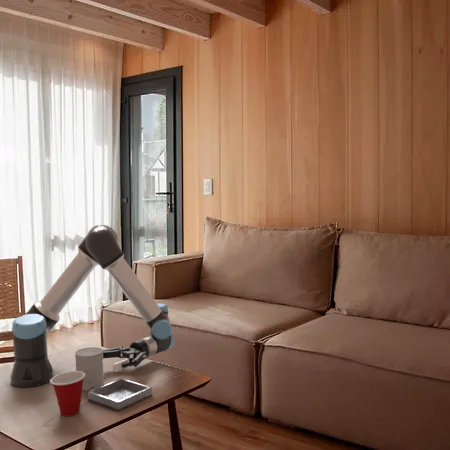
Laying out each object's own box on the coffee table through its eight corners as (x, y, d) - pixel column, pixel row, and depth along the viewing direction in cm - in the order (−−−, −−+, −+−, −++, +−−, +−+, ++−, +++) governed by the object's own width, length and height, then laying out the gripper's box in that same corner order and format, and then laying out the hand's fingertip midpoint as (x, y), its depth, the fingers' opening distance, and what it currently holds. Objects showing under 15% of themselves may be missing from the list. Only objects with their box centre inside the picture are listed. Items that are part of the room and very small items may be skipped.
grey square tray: (88, 400, 191) (87, 391, 191) (121, 386, 203) (121, 378, 202) (118, 411, 182) (118, 402, 181) (152, 395, 194) (151, 387, 193)
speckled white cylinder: (97, 390, 199) (95, 356, 198) (72, 389, 201) (70, 355, 200) (108, 380, 208) (106, 348, 207) (83, 379, 210) (82, 347, 209)
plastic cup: (56, 405, 187) (55, 370, 186) (90, 404, 187) (88, 369, 186) (47, 420, 176) (45, 383, 175) (82, 419, 177) (80, 381, 175)
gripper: (166, 364, 217) (125, 381, 200) (121, 352, 232) (79, 367, 215) (165, 344, 216) (124, 360, 200) (120, 334, 231) (78, 348, 215)
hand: (101, 364), depth 207 cm, fingers open, 13 cm apart
